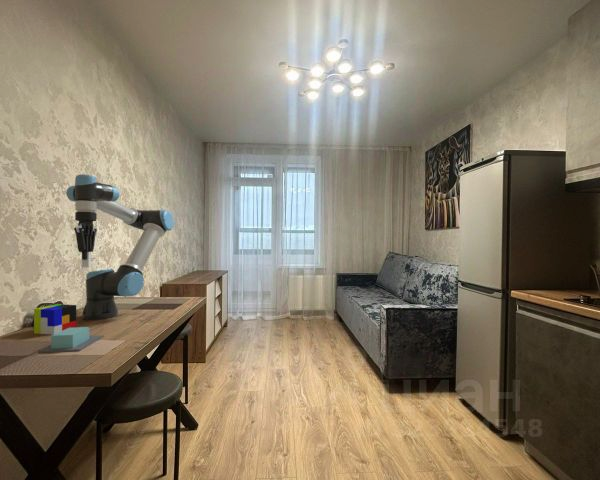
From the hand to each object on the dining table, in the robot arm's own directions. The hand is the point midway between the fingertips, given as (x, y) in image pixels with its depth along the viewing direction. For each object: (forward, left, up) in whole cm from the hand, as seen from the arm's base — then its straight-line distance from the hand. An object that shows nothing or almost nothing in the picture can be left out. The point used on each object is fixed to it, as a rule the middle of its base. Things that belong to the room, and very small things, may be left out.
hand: (86, 267), depth 135 cm
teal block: (+16, +6, -24) cm, 29 cm away
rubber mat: (+20, +6, -26) cm, 34 cm away
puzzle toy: (0, -12, -27) cm, 29 cm away
